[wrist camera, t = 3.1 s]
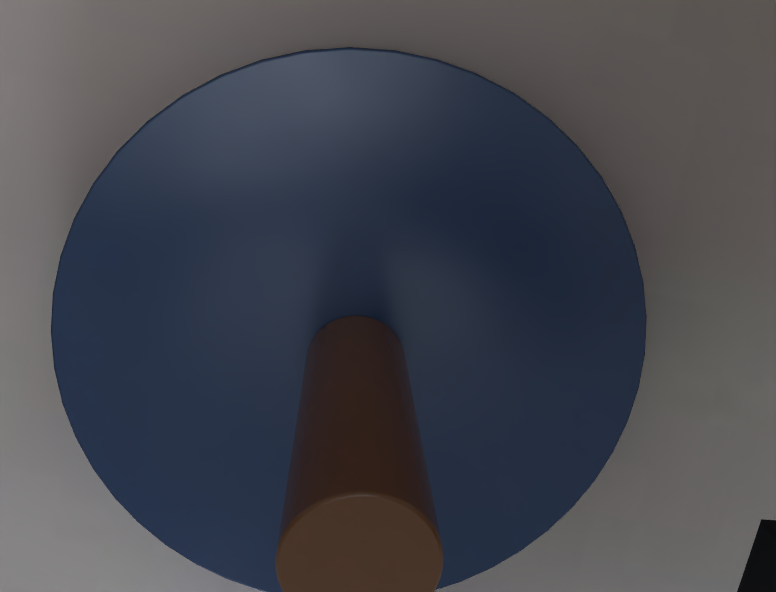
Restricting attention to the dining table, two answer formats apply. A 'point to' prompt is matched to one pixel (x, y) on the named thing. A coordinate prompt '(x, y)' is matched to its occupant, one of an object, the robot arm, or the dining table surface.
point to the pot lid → (348, 323)
